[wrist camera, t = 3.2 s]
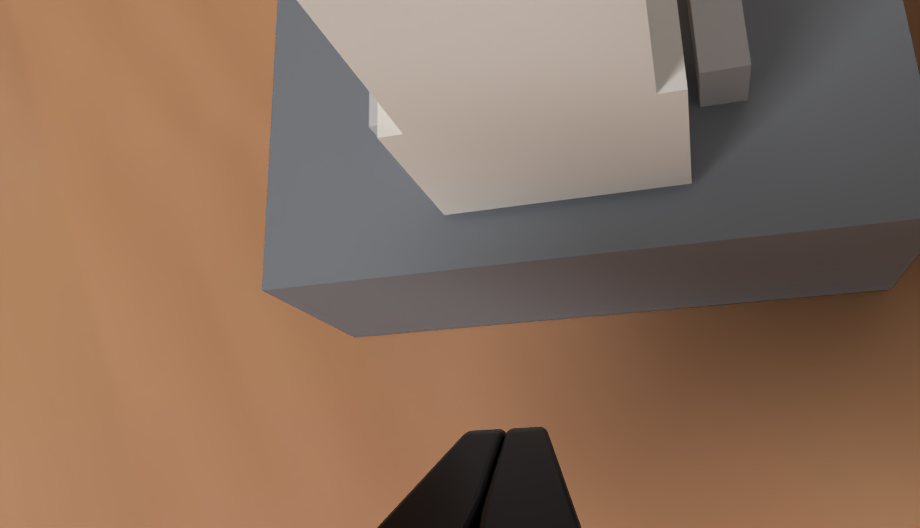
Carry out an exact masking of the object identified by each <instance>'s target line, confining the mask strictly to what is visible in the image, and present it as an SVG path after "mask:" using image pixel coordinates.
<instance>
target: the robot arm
mask: <svg viewBox="0 0 920 528" xmlns="http://www.w3.org/2000/svg"><path fill="white" fill-rule="evenodd" d="M377 528H581V525H580V522H579V520H578V517H577V514H576V511H575V508H574V505H573V503H572V500H571V497H570V494H569V491H568V488H567V486H566V483H565V480H564V477H563V474H562V471H561V469H560V466H559V463H558V460H557V457H556V454H555V451H554V449H553V446H552V443H551V440H550V437H549V435H548V432H547V430H546V429H545V428H543V427H530V428H513V429H510V430H509V431H508V432H507V433H506V432H504V431H503V430H501V429H494V430H476V431H469V432H467V433H466V434H464V435H463V436H462V437H461V438H460V439H459V440H458V441H457V442H456V444H455V445H454V446H453V447H452V448H451V449H450V450H449V451H448V452H447V453H446V454H445V455H444V456H443V457H442V459H441V460H440V461H439V462H438V463H437V464H436V465H435V466H434V467H433V468H432V469H431V470H430V471H429V473H428V474H427V475H426V476H425V477H424V478H423V479H422V480H421V481H420V482H419V483H418V484H417V485H416V486H415V488H414V489H413V490H412V491H411V492H410V493H409V494H408V495H407V496H406V497H405V498H404V499H403V500H402V502H401V503H400V504H399V505H398V506H397V507H396V508H395V509H394V510H393V511H392V512H391V513H390V514H389V515H388V517H387V518H386V519H385V520H384V521H383V522H382V523H381V524H380V525H379V526H378V527H377Z"/></svg>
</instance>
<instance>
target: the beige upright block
mask: <svg viewBox="0 0 920 528" xmlns="http://www.w3.org/2000/svg"><path fill="white" fill-rule="evenodd" d="M297 1H298V3H299V4H300V5H301V6H302V8H303V9H304V10H305V11H306V13H307V14H308V15H309V16H310V18H311V19H312V20H313V21H314V23H315V24H316V25H317V27H318V28H319V29H320V30H321V32H322V33H323V34H324V35H325V37H326V38H327V39H328V40H329V42H330V43H331V44H332V45H333V47H334V48H335V49H336V50H337V52H338V53H339V54H340V55H341V57H342V58H343V59H344V61H345V62H346V63H347V64H348V66H349V67H350V68H351V69H352V71H353V72H354V73H355V74H356V76H357V77H358V78H359V79H360V81H361V82H362V83H363V84H364V86H365V87H366V88H367V89H368V91H369V92H370V93H371V94H372V96H373V97H374V98H375V100H376V101H377V102H378V114H377V138H378V140H379V141H380V142H381V143H382V144H383V145H384V146H385V148H386V149H387V150H388V151H389V152H390V153H391V154H392V156H393V157H394V158H395V159H396V160H397V161H398V163H399V164H400V165H401V166H402V167H403V168H404V169H405V171H406V172H407V173H408V174H409V175H410V176H411V177H412V179H413V180H414V181H415V182H416V183H417V184H418V185H419V187H420V188H421V189H422V190H423V191H424V192H425V194H426V195H427V196H428V197H429V198H430V199H431V200H432V202H433V203H434V204H435V205H436V206H437V207H438V208H439V210H440V211H441V212H442V213H443V214H444V215H450V214H457V213H465V212H473V211H481V210H489V209H497V208H504V207H512V206H520V205H528V204H536V203H544V202H551V201H559V200H567V199H575V198H583V197H591V196H598V195H606V194H614V193H622V192H630V191H638V190H645V189H653V188H661V187H669V186H677V185H685V184H692V178H691V155H690V131H689V108H688V88H687V80H686V71H685V63H684V55H683V47H682V39H681V31H680V23H679V14H678V6H677V0H297Z"/></svg>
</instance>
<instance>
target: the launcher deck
mask: <svg viewBox="0 0 920 528" xmlns="http://www.w3.org/2000/svg"><path fill="white" fill-rule="evenodd" d="M677 6H678V14H679V23H680V31H681V39H682V47H683V55H684V63H685V71H686V80H687V88H688V108H689V131H690V155H691V178H692V184H685V185H677V186H669V187H661V188H653V189H645V190H638V191H630V192H622V193H614V194H606V195H598V196H591V197H583V198H575V199H567V200H559V201H551V202H544V203H536V204H528V205H520V206H512V207H504V208H497V209H489V210H481V211H473V212H465V213H457V214H450V215H444V214H443V213H442V212H441V211H440V210H439V208H438V207H437V206H436V205H435V204H434V203H433V202H432V200H431V199H430V198H429V197H428V196H427V195H426V194H425V192H424V191H423V190H422V189H421V188H420V187H419V185H418V184H417V183H416V182H415V181H414V180H413V179H412V177H411V176H410V175H409V174H408V173H407V172H406V171H405V169H404V168H403V167H402V166H401V165H400V164H399V163H398V161H397V160H396V159H395V158H394V157H393V156H392V154H391V153H390V152H389V151H388V150H387V149H386V148H385V146H384V145H383V144H382V143H381V142H380V141H379V140H378V138H377V114H378V102H377V101H376V100H375V98H374V97H373V96H372V94H371V93H370V92H369V91H368V89H367V88H366V87H365V86H364V84H363V83H362V82H361V81H360V79H359V78H358V77H357V76H356V74H355V73H354V72H353V71H352V69H351V68H350V67H349V66H348V64H347V63H346V62H345V61H344V59H343V58H342V57H341V55H340V54H339V53H338V52H337V50H336V49H335V48H334V47H333V45H332V44H331V43H330V42H329V40H328V39H327V38H326V37H325V35H324V34H323V33H322V32H321V30H320V29H319V28H318V27H317V25H316V24H315V23H314V21H313V20H312V19H311V18H310V16H309V15H308V14H307V13H306V11H305V10H304V9H303V8H302V6H301V5H300V4H299V3H298V1H297V0H278V4H277V22H276V41H275V59H274V78H273V96H272V115H271V133H270V152H269V170H268V189H267V207H266V226H265V244H264V263H263V281H262V291H264V292H266V293H268V294H270V295H272V296H274V297H276V298H278V299H280V300H282V301H284V302H286V303H288V304H290V305H292V306H294V307H296V308H298V309H300V310H302V311H304V312H306V313H308V314H310V315H312V316H313V317H315V318H317V319H319V320H321V321H323V322H325V323H327V324H329V325H331V326H333V327H335V328H337V329H339V330H341V331H343V332H345V333H347V334H349V335H351V336H353V337H363V336H374V335H385V334H397V333H408V332H419V331H430V330H442V329H453V328H464V327H475V326H486V325H498V324H509V323H520V322H531V321H543V320H554V319H565V318H576V317H587V316H599V315H610V314H621V313H632V312H644V311H655V310H666V309H677V308H688V307H700V306H711V305H722V304H733V303H745V302H756V301H767V300H778V299H789V298H801V297H812V296H823V295H834V294H846V293H857V292H868V291H879V290H890V289H891V288H892V287H893V286H894V285H895V283H896V282H897V281H898V280H899V278H900V277H901V276H902V275H903V274H904V272H905V271H906V270H907V269H908V267H909V266H910V265H911V264H912V262H913V261H914V260H915V259H916V258H917V256H918V255H919V254H920V74H919V70H918V65H917V61H916V56H915V52H914V47H913V43H912V38H911V34H910V29H909V25H908V20H907V16H906V11H905V7H904V3H903V0H677Z"/></svg>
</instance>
